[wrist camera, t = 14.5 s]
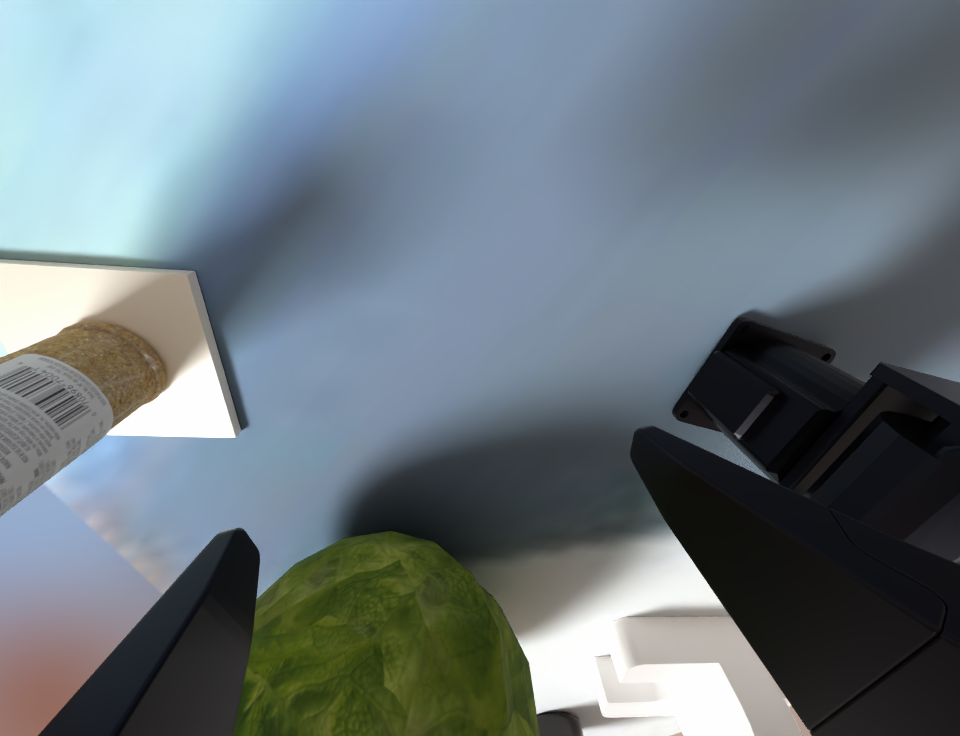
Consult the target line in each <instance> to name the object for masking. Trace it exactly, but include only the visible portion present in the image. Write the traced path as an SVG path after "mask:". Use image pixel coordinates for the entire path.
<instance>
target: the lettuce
mask: <svg viewBox="0 0 960 736" xmlns="http://www.w3.org/2000/svg"><path fill="white" fill-rule="evenodd" d="M233 736H540V734H539V727H538V720H537V714H536V707H535V701H534V694H533V687H532V681H531V674H530V667H529V662H528V660H527V658H526V656H525V654H524V652H523V650H522V648H521V646H520V644H519V642H518V640H517V638H516V637H515V635H514V633H513V631H512V629H511V627H510V625H509V623H508V621H507V619H506V617H505V615H504V613H503V611H502V609H501V607H500V606H499V604H498V603H497V602H496V600H495V599H494V598H493V596H492V595H491V594H489V593H488V592H487V591H486V590H485V589H484V588H483V587H481V586H480V585H479V584H478V583H477V582H476V581H475V579H474V577H473V575H472V574H471V573H470V572H469V571H468V570H467V569H466V568H464V567H463V566H462V565H461V564H460V563H459V562H457V561H456V560H455V559H454V558H453V557H452V556H450V555H449V554H448V553H447V552H446V551H445V550H443V549H442V548H441V547H440V546H439V545H438V544H436V543H435V542H433V541H429V540H425V539H421V538H417V537H413V536H409V535H406V534H402V533H398V532H394V531H387V532H381V533H374V534H368V535H361V536H355V537H349V538H344V539H342V540H340V541H338V542H336V543H334V544H332V545H330V546H328V547H327V548H325V549H323V550H321V551H319V552H317V553H315V554H313V555H311V556H309V557H307V558H306V559H304V560H302V561H300V562H298V563H296V564H295V565H294V566H292V567H291V568H290V569H289V570H288V571H287V572H286V573H285V574H284V575H283V576H282V577H280V578H279V579H278V580H277V581H276V582H275V583H274V584H273V585H272V586H271V587H270V588H268V589H267V590H266V591H265V592H264V593H263V594H262V595H261V596H260V597H259V598H257V599H256V608H255V619H254V628H253V637H252V643H251V649H250V654H249V659H248V664H247V669H246V674H245V679H244V684H243V689H242V694H241V699H240V704H239V709H238V714H237V719H236V724H235V729H234V734H233Z"/></svg>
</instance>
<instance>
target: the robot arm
mask: <svg viewBox="0 0 960 736" xmlns="http://www.w3.org/2000/svg"><path fill="white" fill-rule="evenodd" d="M743 326H744V328H743V329H742V330H741V331H740V329H741V328H742V327H743ZM835 355H836V353H835V351H834V350H832V349H830V348H828V347H826V346H823V345H820V344H818V343H815V342H812V341H809V340H806V339H803V338H800V337H798V336H795V335H792V334H789V333H786V332H783V331H780V330H777V329H775V328H772V327H769V326H766V325H763V324H760V323H757V322H755V321H752V320H749V319H746V318H740V319H737V320H736V321H734V322H733V323H732V324H731V326H730V327H729V329H728V330H727V332H726V333H725V335H724V336H723V338H722V339H721V340H720V342H719V343H718V345H717V346H716V348H715V349H714V351H713V352H712V353H711V355H710V356H709V358H708V359H707V361H706V362H705V364H704V365H703V366H702V368H701V369H700V371H699V372H698V374H697V375H696V377H695V378H694V379H693V381H692V382H691V384H690V385H689V387H688V388H687V390H686V391H685V392H684V394H683V395H682V397H681V398H680V400H679V401H678V403H677V404H676V405H675V407H674V408H673V411H672V414H673V416H674V417H675V418H676V419H677V420H679V421H681V422H685V423H689V424H693V425H696V426H700V427H704V428H708V429H711V430H715V431H719V432H723V433H724V434H725V435H726V436H727V437H728V438H729V439H730V440H731V441H732V442H733V443H734V444H735V445H736V446H737V447H738V448H739V449H740V450H741V451H742V452H743V453H744V454H745V455H746V456H747V457H748V458H749V459H750V460H751V461H752V462H753V463H754V464H755V465H756V466H757V467H758V468H759V469H760V470H761V471H762V472H763V473H764V474H765V475H766V476H767V477H768V478H769V479H770V480H769V479H766V478H764V477H762V476H760V475H758V474H756V473H754V472H751V471H749V470H747V469H745V468H743V467H741V466H739V465H736V464H734V463H732V462H730V461H728V460H726V459H723V458H721V457H719V456H717V455H715V454H713V453H711V452H708V451H706V450H704V449H702V448H700V447H698V446H696V445H693V444H691V443H689V442H687V441H685V440H683V439H680V438H678V437H676V436H674V435H672V434H670V433H668V432H665V431H663V430H661V429H659V428H657V427H654V426H646V427H642V428H638V429H636V431H635V432H634V436H633V441H632V446H631V451H630V456H631V460H632V462H633V464H634V466H635V468H636V470H637V471H638V473H639V475H640V477H641V479H642V481H643V482H644V484H645V486H646V488H647V490H648V491H649V493H650V495H651V497H652V499H653V501H654V502H655V504H656V506H657V508H658V510H659V511H660V513H661V515H662V516H663V518H664V520H665V521H666V523H667V524H668V526H669V527H670V529H671V530H672V532H673V533H674V535H675V536H676V537H677V539H678V540H679V542H680V543H681V545H682V546H683V548H684V549H685V551H686V552H687V554H688V555H689V556H690V558H691V559H692V561H693V562H694V564H695V565H696V567H697V568H698V570H699V571H700V573H701V574H702V575H703V577H704V578H705V580H706V581H707V583H708V584H709V586H710V587H711V589H712V590H713V592H714V593H715V594H716V596H717V597H718V599H719V600H720V602H721V603H722V605H723V606H724V608H725V609H726V611H727V612H728V613H729V615H730V616H731V618H732V619H733V621H734V622H735V624H736V625H737V627H738V628H739V630H740V631H741V632H742V634H743V635H744V637H745V638H746V640H747V641H748V643H749V644H750V646H751V647H752V649H753V650H754V651H755V653H756V654H757V656H758V657H759V659H760V660H761V662H762V663H763V665H764V666H765V668H766V669H767V670H768V672H769V673H770V675H771V676H772V678H773V679H774V681H775V682H776V684H777V685H778V687H779V688H780V689H781V691H782V692H783V694H784V695H785V697H786V698H787V700H788V701H789V703H790V704H791V706H792V707H793V708H794V710H795V711H796V713H797V714H798V716H799V717H800V719H801V720H802V722H803V723H804V724H805V726H806V727H807V729H809V730H810V734H811V735H812V736H960V383H959V382H955V381H951V380H947V379H943V378H940V377H936V376H932V375H928V374H924V373H920V372H917V371H913V370H909V369H905V368H901V367H897V366H894V365H890V364H886V363H882V362H880V363H879V364H878V365H877V367H876V368H875V369H874V370H873V371H872V372H871V374H870V375H872V377H871V378H870V379H869V380H868V381H867V383H865V382H863V381H861V380H859V379H857V378H855V377H853V376H851V375H849V374H847V373H846V372H844V371H842V370H840V369H838V368H836V367H834V366H832V365H830V363H831V362H832V360H833V359H834V358H835ZM683 411H684V412H683ZM681 412H683V413H681ZM259 565H260V554H259V551H258V549H257V547H256V546H255V544H254V543H253V541H252V540H251V538H250V537H249V536H248V534H247V533H246V531H245V530H244V529H242V528H235V529H231V530H227V531H223V532H220V533H219V534H217V535H216V536H215V537H214V538H213V539H212V540H211V541H210V542H209V544H208V545H207V546H206V547H205V548H204V549H203V550H202V551H201V553H200V554H199V555H198V556H197V557H196V558H195V559H194V560H193V562H192V563H191V564H190V565H189V566H188V567H187V568H186V569H185V571H184V572H183V573H182V574H181V575H180V576H179V577H178V578H177V580H176V581H175V582H174V583H173V584H172V585H171V586H170V587H169V589H168V590H167V591H166V592H165V593H164V594H163V595H162V596H161V598H160V599H159V600H158V601H157V602H156V603H155V604H154V605H153V607H152V608H151V609H150V610H149V611H148V612H147V614H146V615H145V616H144V617H143V618H142V619H141V620H140V622H138V624H137V625H136V626H135V627H134V628H133V629H132V630H131V631H130V633H129V634H128V635H127V636H126V637H125V638H124V639H123V640H122V642H121V643H120V644H119V645H118V646H117V647H116V648H115V649H114V651H113V652H112V653H111V654H110V655H109V656H108V657H107V658H106V660H105V661H104V662H103V663H102V664H101V665H100V666H99V668H98V669H97V670H96V671H95V672H94V673H93V674H92V675H91V676H90V678H89V679H88V680H87V681H86V682H85V683H84V685H82V687H81V688H80V689H79V690H78V691H77V692H76V693H75V694H74V696H73V697H72V698H71V699H70V700H69V701H68V702H67V703H66V705H65V706H64V707H63V708H62V709H61V710H60V711H59V712H58V714H57V715H56V716H55V717H54V718H53V719H52V720H51V722H50V723H49V724H48V725H47V726H46V727H45V728H44V730H43V731H42V732H41V733H40V734H39V735H38V736H233V734H234V729H235V724H236V719H237V714H238V709H239V704H240V699H241V694H242V689H243V684H244V679H245V674H246V669H247V664H248V659H249V654H250V649H251V643H252V637H253V628H254V619H255V608H256V597H257V587H258V576H259Z"/></svg>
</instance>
